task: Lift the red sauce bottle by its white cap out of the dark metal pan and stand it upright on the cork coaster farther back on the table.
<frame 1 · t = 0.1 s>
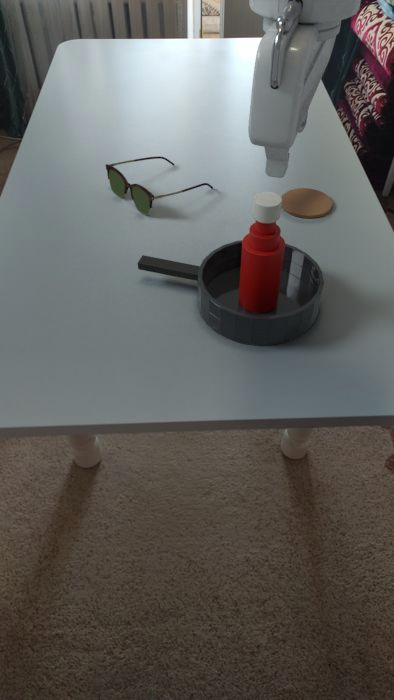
hand: (286, 150, 53), 28 cm above the table, tool pointing down, fingers open, 8 cm apart
pan: (257, 302, 79), on the table
sunglasses: (162, 190, 101), on the table
sauce bottle: (258, 300, 79), resting on pan
coaster: (305, 204, 97), on the table
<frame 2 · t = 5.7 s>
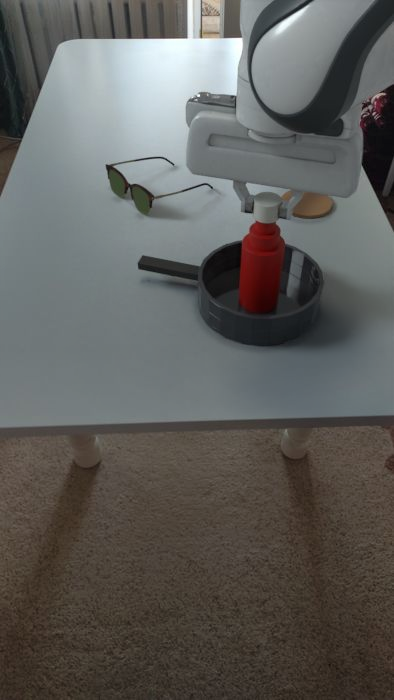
hand: (266, 213, 68), 15 cm above the table, tool pointing down, fingers closed on sauce bottle, 3 cm apart
sauce bottle: (258, 300, 79), point 1 cm above the table, touching gripper, pan
everything else where it was.
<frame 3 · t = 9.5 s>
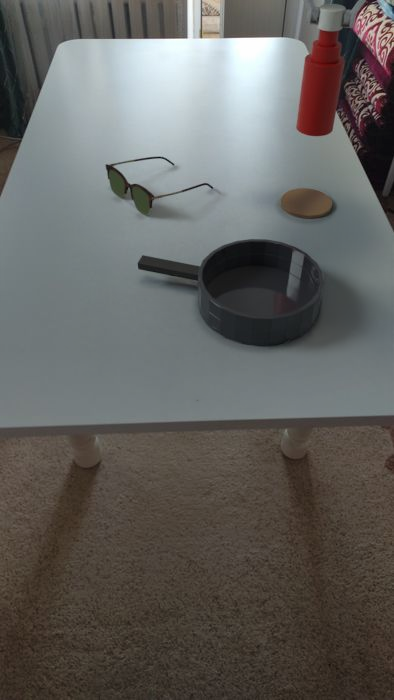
hand: (330, 25, 74), 29 cm above the table, tool pointing down, fingers closed on sauce bottle, 3 cm apart
sauce bottle: (314, 128, 85), point 15 cm above the table, touching gripper
everything else where it was.
when the fingers open (15 cm above the table, at t = 13.8 s): sauce bottle stays where it is, resting on coaster.
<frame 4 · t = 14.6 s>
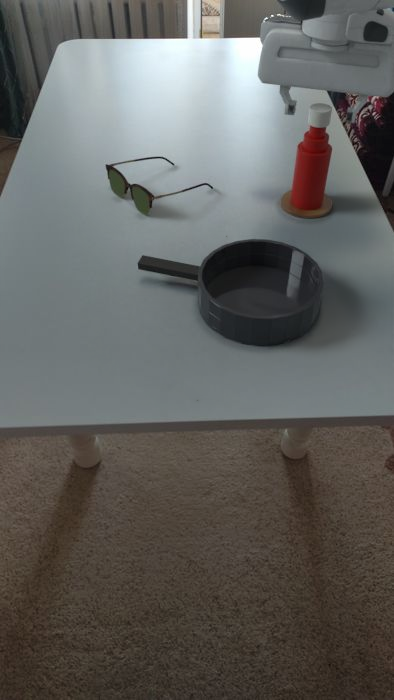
hand: (319, 117, 86), 15 cm above the table, tool pointing down, fingers open, 8 cm apart
sauce bottle: (306, 201, 96), point 1 cm above the table, touching coaster
everything else where it was.
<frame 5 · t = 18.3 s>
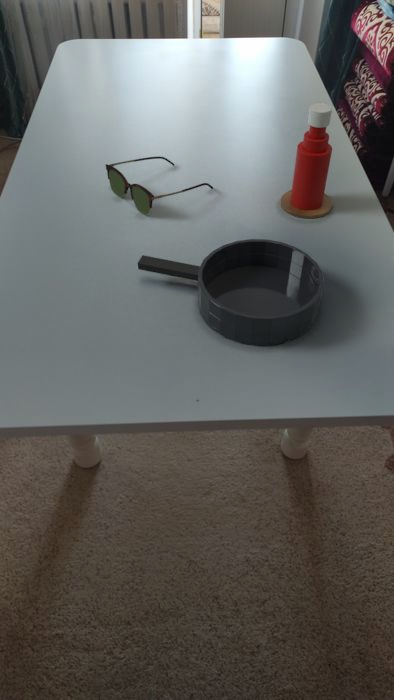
nothing on the table moved.
at the end: sauce bottle 0.1 cm off-centre on the coaster, point 0.6 cm above the coaster's base; sauce bottle tilted 0°; sauce bottle touching coaster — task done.
